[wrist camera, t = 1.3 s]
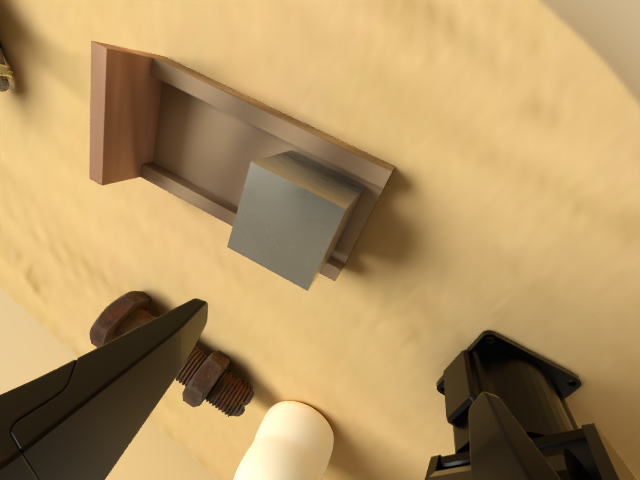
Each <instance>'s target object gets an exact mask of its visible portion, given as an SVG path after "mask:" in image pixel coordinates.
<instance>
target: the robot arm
mask: <svg viewBox="0 0 640 480" xmlns="http://www.w3.org/2000/svg"><path fill="white" fill-rule="evenodd" d="M207 315H208V303H207V302H206V301H203V300H200V299H192V300H190V301H188V302H187V303H185V304H183V305H181V306H179V307H177V308H175V309H173V310H171V311H169V312H167V313H165V314H163V315H161V316H159V317H157V318H155V319H153V320H151V321H149V322H147V323H145V324H144V325H142V326H140V327H138V328H136V329H134V330H132V331H130V332H128V333H126V334H124V335H122V336H120V337H118V338H116V339H114V340H112V341H110V342H108V343H106V344H104V345H102V346H101V347H99V348H97V349H95V350H93V351H91V352H89V353H87V354H85V355H83V356H81V357H79V358H78V359H77V360H73V361H71V362H69V363H67V364H65V365H63V366H61V367H59V368H57V369H55V370H53V371H51V372H49V373H47V374H45V375H43V376H41V377H39V378H37V379H35V380H32V381H30V382H28V383H26V384H24V385H21V386H19V387H17V388H15V389H12V390H10V391H8V392H6V393H3V394H1V395H0V480H105V479H106V477H107V476H108V474H109V473H110V471H111V470H112V468H113V467H114V466H115V464H116V463H117V461H118V460H119V458H120V457H121V456H122V454H123V453H124V451H125V450H126V448H127V447H128V445H129V444H130V443H131V441H132V440H133V438H134V437H135V435H136V434H137V433H138V431H139V430H140V428H141V427H142V425H143V424H144V422H145V421H146V420H147V418H148V417H149V415H150V414H151V412H152V411H153V409H154V408H155V407H156V405H157V404H158V402H159V401H160V399H161V398H162V397H163V395H164V394H165V392H166V391H167V389H168V388H169V386H170V385H171V384H172V382H173V381H174V379H175V378H176V376H177V375H178V373H179V372H180V370H181V369H182V367H183V365H184V364H185V362H186V360H187V358H188V356H189V355H190V353H191V351H192V349H193V347H194V346H195V344H196V342H197V340H198V338H199V336H200V335H201V333H202V331H203V329H204V327H205V325H206V323H207ZM488 337H491V338H493V339H491V340H488V339H486V338H488ZM570 380H573V381H571V382H568V381H570ZM442 386H444V387H442ZM580 386H581V382H580V380H579V378H578V376H577V375H575V374H574V373H572V372H570V371H568V370H566V369H564V368H562V367H560V366H559V365H557V364H555V363H553V362H551V361H549V360H547V359H545V358H543V357H541V356H539V355H538V354H536V353H534V352H532V351H530V350H528V349H526V348H524V347H522V346H520V345H518V344H517V343H515V342H513V341H511V340H509V339H507V338H505V337H503V336H501V335H499V334H497V333H496V332H494V331H491V330H487V331H484V332H482V333H481V334H480V335H479V337H478V338H477V339H476V340H475V341H474V342H473V343H472V344H471V345H470V346H469V348H468V349H467V350H463V351H462V352H461V353H460V354H459V355H458V356H457V357H456V358H455V359H454V361H453V362H452V363H451V364H450V365H449V366H448V367H447V368H446V369H445V370H444V375H443V376H442V377H441V378H440V379H439V380H438V381H437V390H438V392H440V393H441V394H443V395H445V403H446V418H447V421H448V423H450V424H451V425H453V432H454V444H455V454H452V455H447V456H441V455H437V456H433V457H431V459H430V463H429V466H428V470H427V474H426V477H425V480H636V479H635V477H634V476H633V475H632V473H631V472H630V471H629V469H628V468H627V467H626V465H625V464H624V463H623V461H622V460H621V459H620V457H619V456H618V455H617V453H616V452H615V450H614V449H613V448H612V446H611V445H610V444H609V442H608V441H607V440H606V438H605V437H604V436H603V434H602V433H601V432H600V430H599V429H598V428H597V426H596V425H595V424H594V423H592V424H587V425H583V426H582V428H580V429H579V428H578V426H577V424H576V422H575V420H574V418H573V416H572V414H571V412H570V410H569V408H568V406H567V403H566V401H565V398H566V397H568V396H569V395H570V394H572V393H573V392H574V391H575V390H577V389H578V388H579V387H580Z"/></svg>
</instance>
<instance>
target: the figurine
mask: <svg viewBox="0 0 640 480" xmlns="http://www.w3.org/2000/svg"><path fill="white" fill-rule="evenodd" d="M12 73H13V72H12V71H10V70H9V67H8V66H6V65H5V63H4V59H3V55H2V52H1V45H0V91H6V90H8V89H13V88H12V87H11V86H10V85H9V82H8V79H7V78H13V76H11V74H12Z"/></svg>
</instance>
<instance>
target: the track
mask: <svg viewBox="0 0 640 480" xmlns="http://www.w3.org/2000/svg"><path fill="white" fill-rule="evenodd" d="M290 150H293V151H295V152H297V153H299V154H301V155H303V156H305V157H308V158H310V159H312V160H314V161H316V162H318V163H320V164H322V165H324V166H326V167H328V168H330V169H332V170H334V171H336V172H338V173H340V174H342V175H344V176H346V177H348V178H350V179H352V180H354V181H356V182H358V183H360V184H363V185H365V188H364V190H363V192H362V194H361V196H360V198H359V201H358V203H357V205H356V207H355V209H354V211H353V213H352V215H351V217H350V219H349V221H348V223H347V225H346V227H345V229H344V231H343V234H342V236H341V238H340V240H339V242H338V244H337V246H336V248H335V250H334V252H333V254H332V255H331V257H330V258H329V260H328V261H327V263H326V264H325V266H324V267H323V269H322V270H321V272H320V274H322V275H324V276H326V277H328V278H330V279H332V280H333V281H336V279H337V277H338V275H339V273H340V271H341V270H342V268H343V266H344V264H345V262H346V260H347V258H348V256H349V254H350V252H351V250H352V248H353V246H354V245H355V243H356V241H357V239H358V237H359V235H360V233H361V231H362V229H363V227H364V225H365V223H366V221H367V219H368V218H369V216H370V214H371V212H372V210H373V208H374V206H375V204H376V202H377V200H378V198H379V196H380V194H381V192H382V191H383V189H384V187H385V185H386V183H387V181H388V179H389V177H390V175H391V173H392V171H393V169H394V167H395V166H393V165H390V164H388V163H386V162H384V161H382V160H380V159H378V158H376V157H374V156H372V155H369V154H367V153H365V152H363V151H361V150H359V149H357V148H355V147H353V146H351V145H349V144H346V143H344V142H342V141H340V140H338V139H336V138H334V137H332V136H330V135H328V134H325V133H323V132H321V131H319V130H317V129H315V128H313V127H311V126H309V125H307V124H305V123H302V122H300V121H298V120H296V119H294V118H292V117H290V116H288V115H286V114H284V113H281V112H279V111H277V110H275V109H273V108H271V107H269V106H267V105H265V104H263V103H260V102H258V101H256V100H254V99H252V98H250V97H248V96H246V95H244V94H242V93H240V92H237V91H235V90H233V89H231V88H229V87H227V86H225V85H223V84H221V83H219V82H216V81H214V80H212V79H210V78H208V77H206V76H204V75H202V74H200V73H198V72H196V71H193V70H191V69H189V68H187V67H185V66H183V65H181V64H179V63H177V62H175V61H172V60H170V59H168V58H166V57H164V56H160V55H155V54H151V53H146V52H141V51H137V50H132V49H127V48H123V47H118V46H113V45H109V44H104V43H99V42H95V41H91V106H90V179H91V180H93V181H95V182H97V183H98V184H100V185H106V184H110V183H115V182H119V181H124V180H128V179H133V178H137V177H142V178H144V179H146V180H147V181H149V182H151V183H153V184H155V185H157V186H159V187H160V188H162V189H164V190H166V191H168V192H170V193H172V194H173V195H175V196H177V197H179V198H181V199H183V200H185V201H186V202H188V203H190V204H192V205H194V206H196V207H198V208H199V209H201V210H203V211H205V212H207V213H209V214H211V215H213V216H214V217H216V218H218V219H220V220H222V221H224V222H226V223H227V224H229V225H231V226H233V224H234V221H235V217H236V214H237V210H238V206H239V203H240V199H241V196H242V192H243V188H244V185H245V181H246V178H247V174H248V170H249V167H250V163H251V161H255V160H258V159H262V158H265V157H269V156H273V155H276V154H280V153H283V152H287V151H290Z"/></svg>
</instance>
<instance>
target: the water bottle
mask: <svg viewBox="0 0 640 480" xmlns="http://www.w3.org/2000/svg"><path fill="white" fill-rule="evenodd" d="M333 445H334V435H333V432H332V429H331V427H330V425H329V423H328V422H327V421H326V419H325V418H324V417H323V416H322V415H321V414H320V413H319V412H318V411H316V410H315V409H313V408H312V407H310V406H308V405H306V404H303V403H300V402H295V401H283V402H279V403H277V404H275V405H273V406H272V407H271V408H270V409H269V410H268V412H267V414H266V415H265V417H264V419H263V421H262V423H261V425H260V427H259V430H258V432H257V434H256V437H255V440H254V442H253V444H252V445H251V447H250V448H249V450H248V451H247V453H246V454H245V456H244V458H243V459H242V461H241V463H240V465H239V467H238V469H237V472H236V474H235V477H234V480H322V478H323V475H324V473H325V471H326V468H327V466H328V463H329V460H330V456H331V453H332V449H333Z"/></svg>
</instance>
